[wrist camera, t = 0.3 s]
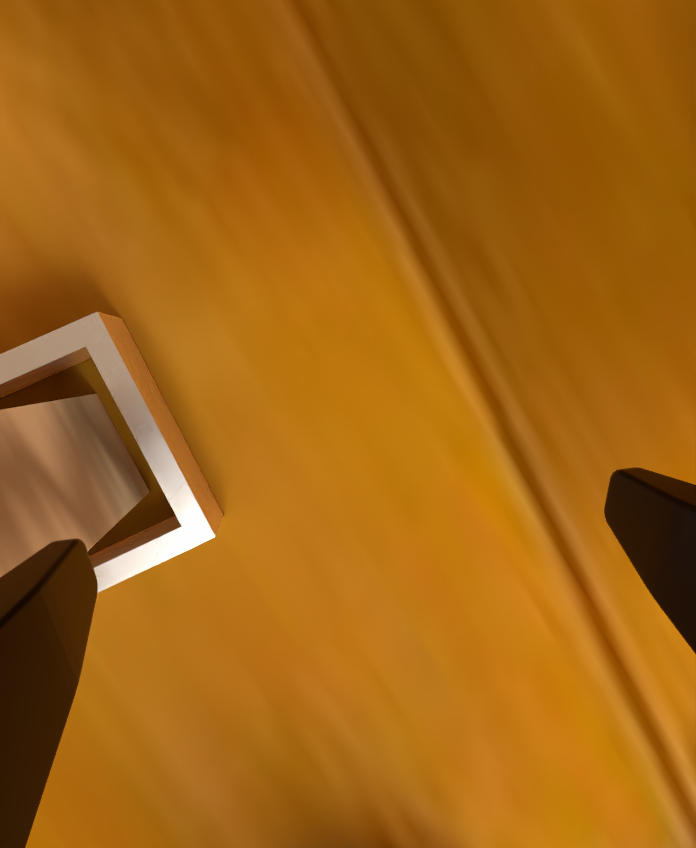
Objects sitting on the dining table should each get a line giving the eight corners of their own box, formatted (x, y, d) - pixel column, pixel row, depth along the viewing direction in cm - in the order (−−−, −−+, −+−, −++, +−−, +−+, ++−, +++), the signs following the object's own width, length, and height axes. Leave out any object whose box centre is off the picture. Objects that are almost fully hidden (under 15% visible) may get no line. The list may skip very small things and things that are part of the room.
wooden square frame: (223, 515, 24) (215, 536, 21) (24, 609, 23) (-14, 645, 21) (122, 318, 22) (97, 311, 20) (-95, 413, 22) (-155, 422, 19)
